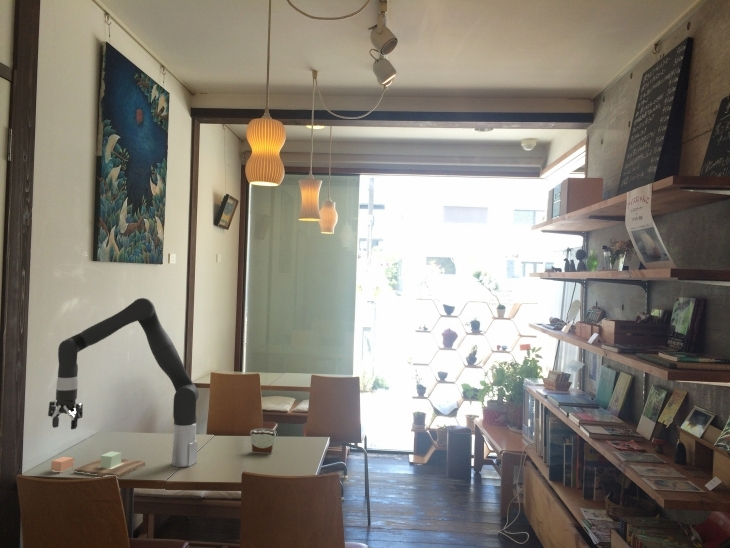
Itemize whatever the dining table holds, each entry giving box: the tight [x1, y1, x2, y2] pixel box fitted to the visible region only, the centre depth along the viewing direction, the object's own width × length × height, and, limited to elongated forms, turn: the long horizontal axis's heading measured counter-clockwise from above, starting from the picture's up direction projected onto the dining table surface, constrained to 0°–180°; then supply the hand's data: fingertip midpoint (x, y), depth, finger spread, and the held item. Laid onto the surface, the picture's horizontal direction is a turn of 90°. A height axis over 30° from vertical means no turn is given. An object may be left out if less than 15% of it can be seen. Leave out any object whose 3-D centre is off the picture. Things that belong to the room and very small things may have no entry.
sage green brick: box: [100, 450, 122, 468], centre depth 217 cm, size 5×6×4 cm
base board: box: [73, 457, 146, 478], centre depth 217 cm, size 20×17×2 cm
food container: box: [249, 427, 277, 455], centre depth 249 cm, size 12×6×10 cm, turn 84°
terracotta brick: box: [50, 456, 74, 471], centre depth 214 cm, size 5×6×4 cm
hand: (64, 428), depth 214 cm, fingers open, 8 cm apart
